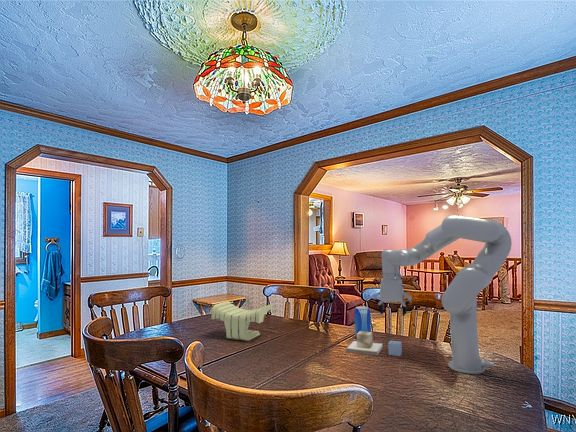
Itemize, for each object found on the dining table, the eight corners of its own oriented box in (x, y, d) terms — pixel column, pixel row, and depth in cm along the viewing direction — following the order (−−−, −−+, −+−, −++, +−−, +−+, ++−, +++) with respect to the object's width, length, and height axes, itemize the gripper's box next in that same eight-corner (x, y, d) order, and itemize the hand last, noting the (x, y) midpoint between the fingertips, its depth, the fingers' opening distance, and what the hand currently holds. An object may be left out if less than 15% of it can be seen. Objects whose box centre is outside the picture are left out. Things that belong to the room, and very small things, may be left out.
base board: (382, 346, 159) (382, 343, 159) (377, 355, 146) (376, 352, 147) (354, 343, 165) (354, 340, 165) (346, 352, 153) (346, 348, 153)
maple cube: (372, 345, 157) (372, 332, 158) (370, 348, 152) (369, 335, 152) (360, 343, 160) (359, 331, 160) (357, 347, 154) (356, 334, 155)
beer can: (373, 340, 170) (371, 308, 171) (356, 340, 170) (355, 309, 171) (369, 336, 178) (368, 305, 180) (354, 336, 178) (352, 306, 180)
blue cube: (401, 352, 150) (401, 341, 150) (400, 356, 145) (399, 344, 146) (390, 351, 152) (390, 340, 153) (388, 354, 148) (388, 343, 148)
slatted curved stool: (211, 338, 181) (211, 305, 183) (228, 331, 196) (228, 300, 197) (259, 343, 169) (258, 308, 171) (273, 335, 184) (272, 303, 185)
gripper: (411, 276, 152) (413, 314, 150) (373, 275, 159) (375, 311, 158) (410, 278, 145) (411, 317, 143) (370, 276, 152) (371, 314, 151)
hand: (392, 314), depth 151 cm, fingers open, 9 cm apart
